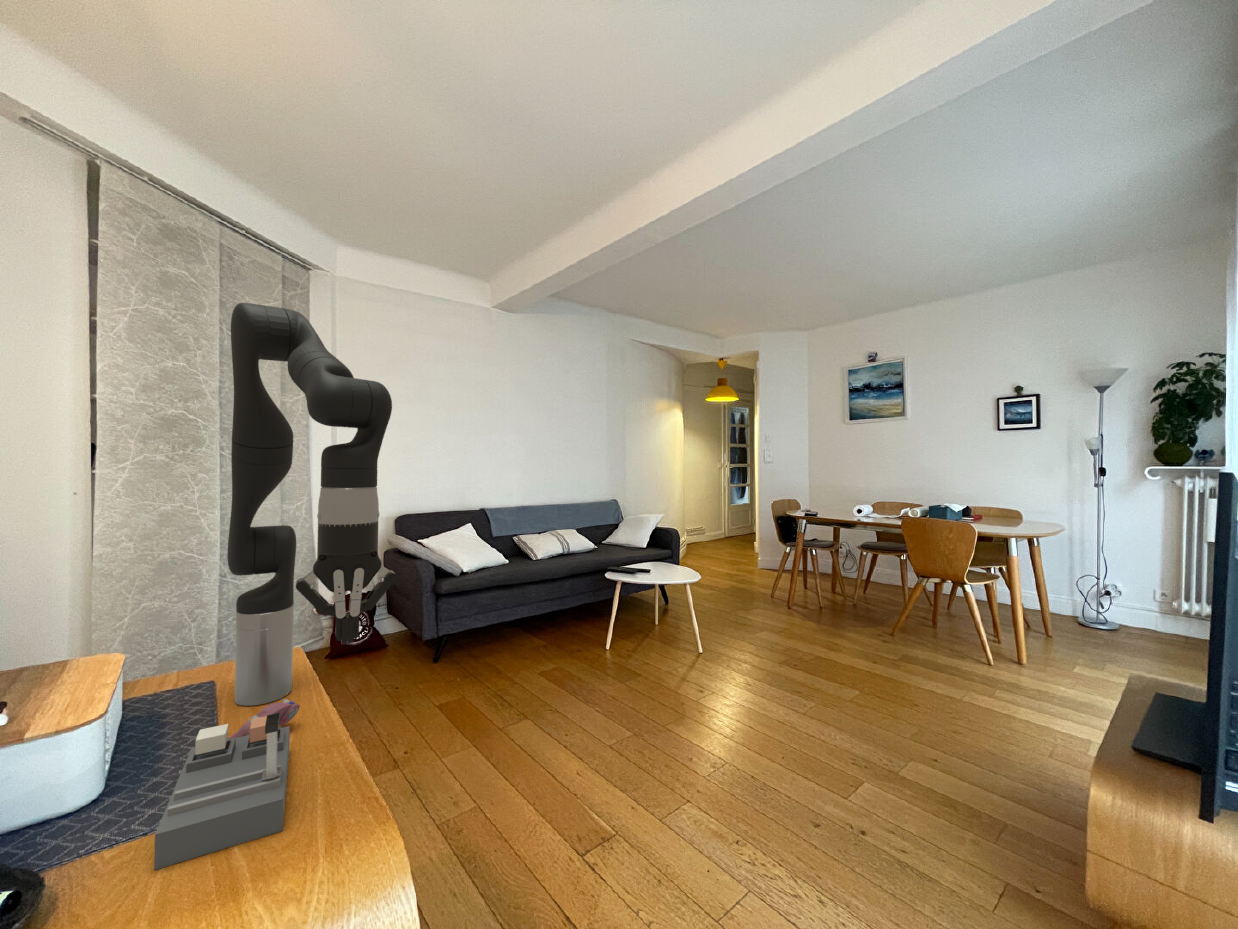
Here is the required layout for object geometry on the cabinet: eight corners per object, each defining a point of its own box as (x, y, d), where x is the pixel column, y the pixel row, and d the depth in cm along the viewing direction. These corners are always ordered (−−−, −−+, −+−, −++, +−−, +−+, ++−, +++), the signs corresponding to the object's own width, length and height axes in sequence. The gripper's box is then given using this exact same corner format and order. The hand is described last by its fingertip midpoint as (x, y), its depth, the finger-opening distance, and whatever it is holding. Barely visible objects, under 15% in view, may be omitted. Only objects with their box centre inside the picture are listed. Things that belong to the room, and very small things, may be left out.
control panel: (191, 774, 73) (191, 739, 73) (289, 751, 79) (289, 718, 79) (154, 870, 56) (155, 824, 56) (282, 831, 62) (283, 789, 62)
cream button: (199, 743, 71) (200, 729, 71) (228, 737, 73) (228, 724, 73) (195, 755, 68) (195, 740, 68) (224, 748, 70) (225, 734, 70)
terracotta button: (252, 732, 74) (252, 719, 74) (277, 727, 76) (278, 713, 76) (249, 743, 71) (249, 729, 71) (276, 736, 73) (276, 723, 73)
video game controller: (240, 766, 78) (257, 729, 77) (219, 750, 79) (236, 712, 78) (293, 733, 88) (309, 699, 87) (273, 719, 88) (289, 685, 88)
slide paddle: (263, 775, 67) (264, 716, 67) (281, 771, 68) (282, 712, 68) (261, 789, 64) (262, 727, 64) (280, 784, 65) (281, 723, 65)
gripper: (396, 515, 77) (394, 627, 77) (294, 518, 70) (291, 642, 70) (403, 520, 71) (401, 642, 71) (292, 524, 64) (289, 660, 64)
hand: (346, 642), depth 70 cm, fingers closed
